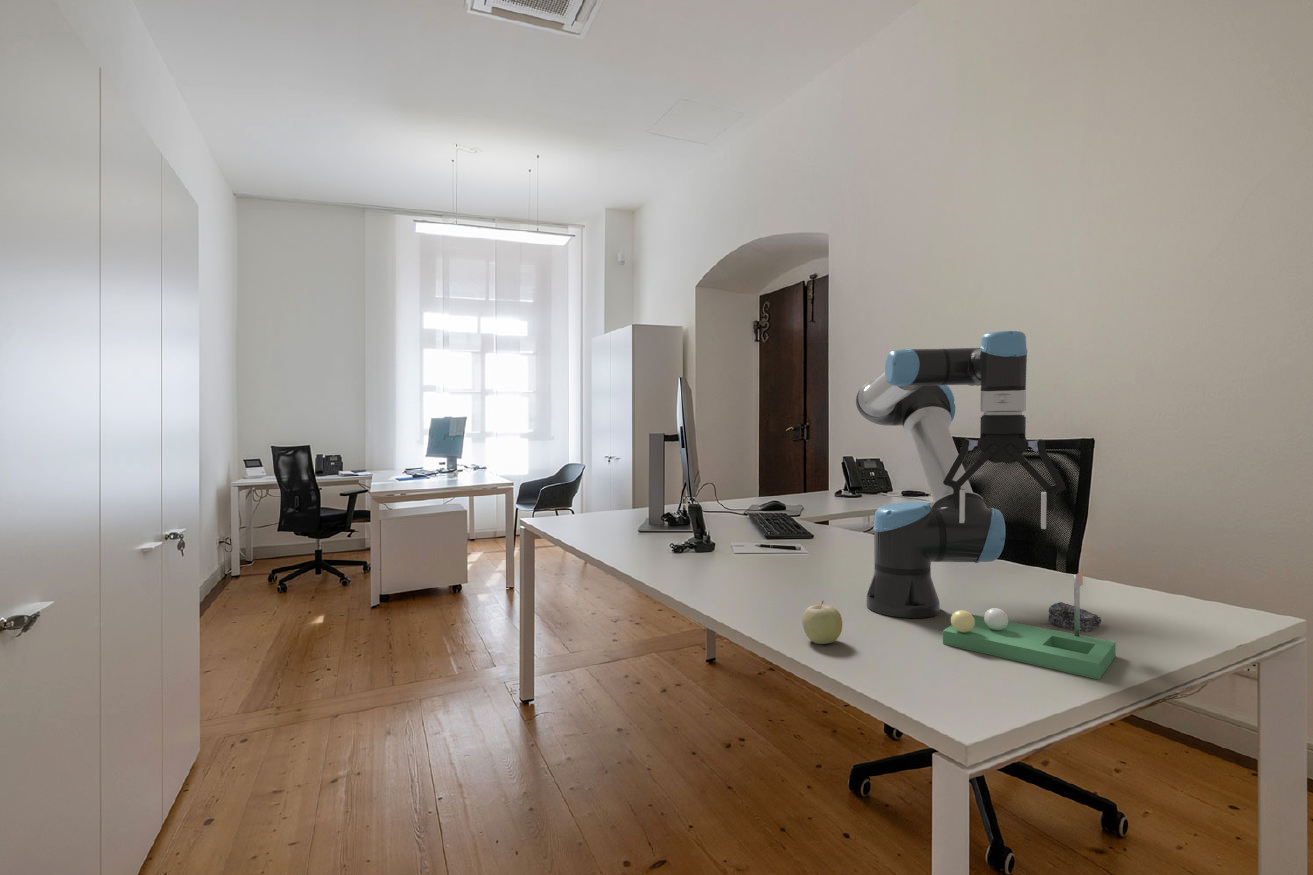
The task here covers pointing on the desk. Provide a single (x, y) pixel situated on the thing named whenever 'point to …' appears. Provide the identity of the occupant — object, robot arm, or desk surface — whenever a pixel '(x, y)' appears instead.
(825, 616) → the fruit
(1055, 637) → the green board with hole
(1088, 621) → the rock
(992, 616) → the ball
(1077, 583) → the pin
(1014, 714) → the desk surface
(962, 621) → the ball
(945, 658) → the desk surface
